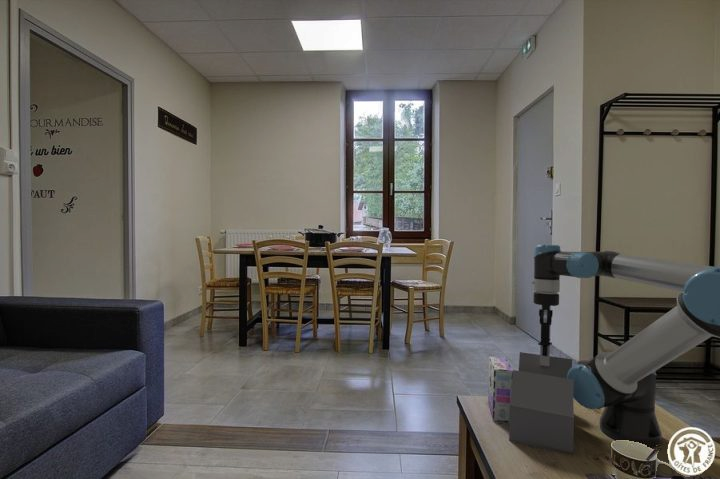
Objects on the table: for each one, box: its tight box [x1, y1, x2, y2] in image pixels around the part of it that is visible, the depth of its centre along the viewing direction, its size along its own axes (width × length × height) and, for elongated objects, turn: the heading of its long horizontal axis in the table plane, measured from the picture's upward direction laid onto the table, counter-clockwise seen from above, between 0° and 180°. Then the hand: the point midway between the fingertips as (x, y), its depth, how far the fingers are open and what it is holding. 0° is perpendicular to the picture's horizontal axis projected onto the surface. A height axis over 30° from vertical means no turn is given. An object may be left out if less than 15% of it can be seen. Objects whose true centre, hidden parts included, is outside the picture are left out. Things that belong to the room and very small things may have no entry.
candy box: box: [487, 356, 514, 424], centre depth 130 cm, size 14×6×16 cm, turn 168°
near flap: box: [510, 369, 574, 418], centre depth 111 cm, size 16×10×1 cm
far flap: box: [518, 351, 573, 379], centre depth 129 cm, size 16×10×1 cm
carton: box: [508, 406, 575, 456], centre depth 118 cm, size 16×20×10 cm
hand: (544, 365), depth 129 cm, fingers closed
